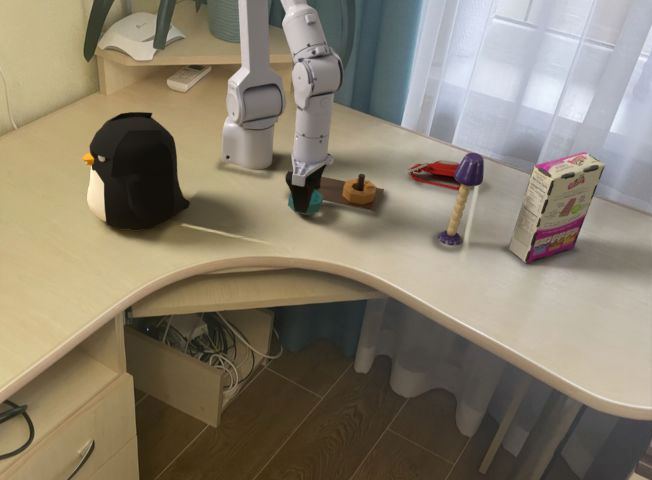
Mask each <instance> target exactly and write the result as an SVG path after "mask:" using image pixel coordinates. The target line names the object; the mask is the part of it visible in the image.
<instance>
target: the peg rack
mask: <svg viewBox="0 0 652 480" xmlns="http://www.w3.org/2000/svg"><path fill="white" fill-rule="evenodd" d="M357 178H358V182H357V189H356V191H361V192H362V191H363V187H364V181H365V180H366V175H365V174H364V173H359V174H358V177H357ZM346 181H347V180H340V179H335V178H331V177H326V176H322V177H321V180H320V183H319V186H318V189H317V191H318V192H319V193H320V194H321V195H322V196H323V202H324V201H325V202H329V203H335V204H339V205H344V206H350V207H354V208H359V209H364V210H368V211H371V212H376V211H377V209H378V207H379V204H380V201H381V198H382V196H383V195H384V191H385V189H384V188H380V187H377V188H376V194H375V197H374V200H373V202H369V203H366V204H357V203H353V202H349V201H348V200H347V199H346V198H345V197H344V196H343V187H344V185H345V183H346Z"/></svg>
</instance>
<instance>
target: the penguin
mask: <svg viewBox="0 0 652 480" xmlns="http://www.w3.org/2000/svg"><path fill="white" fill-rule="evenodd" d="M176 147H177V146H176V141H175V138H174V136H173V135H172V134H171V133H170V131H169V130H167V129H166V127H164V126H163V125H162V124H160V122H158V121H157V120H156V119H155V118H153V112H144V111H135V112H134V111H127V112H123V113H119V114H117V115H116V116H113V117H112V118H110V119H108V120H106V121H105V122H104V123H103V125H102V126H101V127H100V128H99V129H98V130H97V131H96V132H95V134H94V135H93V138H92V140H91V142H90V143H89V152H88V153H86V154H85V155H83V156H82V158H81V160H82V161H84V162H85V165H86V166H90V174H89V184H88V188H87V195H86V200H87V205H88V207H89V210H90V212H92V213H93V215H94V216H95V217H96V218H98V219H100V220H102V221H104V223H105V224H106V226H108V227H111V228H113V229H117V230H123V231H132V232H133V231H134V232H136V231H145V230H150V229H154V228H156V227H158V226H160V225H162V224H165V223H167V222H168V221H169V220H171V219H172V218H173V217H175V216H176V215H178V214H179V213H180V212H181V211H183V210H185V209H188V208H190V203H191V201H190V200H188V198H186V197H185V196H184V194H183V191H182V188H181V186H180V182H179V177H178V175H179V174H178V155H177V154H178V153H177V148H176Z"/></svg>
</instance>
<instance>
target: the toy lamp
mask: <svg viewBox="0 0 652 480" xmlns="http://www.w3.org/2000/svg"><path fill="white" fill-rule="evenodd" d="M484 161H485V160H484V157H483V156H482V155H481V154H480V153H476V152H468V153H465V155H464V156H463V158H462V160H461V161H460V163H458V164H459V166H458V168H457V169H456V171H455V173H454V176H453V177H454V180H455V181H456V182H457V183H459V185H461V187H460V189H458V194H457V196H456V201H455V203H454V205H453V210H452V212H451V217H450V219H449V221H448V226H447V228H446V229H445V230H443V231H441V232H440V233H439V234H438V236H437V239H438V241H439V242H440V243H442V244H444V245H447V246H458V245H460V244H461V243H462V237H461V236H460V234H459V233H458V227H459V226H460V224H461V219H462V218H463V214H464V213H463V212H464V211H465V209H466V203H467V202H468V196H469V195H470V192H471V188H472V187H477V186H479V185H481V184H482V183H483V181H484V171H485V162H484Z"/></svg>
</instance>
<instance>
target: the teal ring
mask: <svg viewBox="0 0 652 480" xmlns="http://www.w3.org/2000/svg"><path fill="white" fill-rule="evenodd" d="M323 203H324V200H323V196H322V195H321V194H320V193H319V192H318V191H317V190H314V191H313V193H312V197H311V200H310V204H309V207H308V210H307V212H306V213H302V212H298V211H295V210H294V205H293V199H292V194H291V193H289V196H288V201H287V206H288V207H289V208H290V209H291V210H292V212H294V213H298V214H301V215H306V216H308V215H313V214H316V213H319V212H320V211H321V209H322V207H323Z"/></svg>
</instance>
